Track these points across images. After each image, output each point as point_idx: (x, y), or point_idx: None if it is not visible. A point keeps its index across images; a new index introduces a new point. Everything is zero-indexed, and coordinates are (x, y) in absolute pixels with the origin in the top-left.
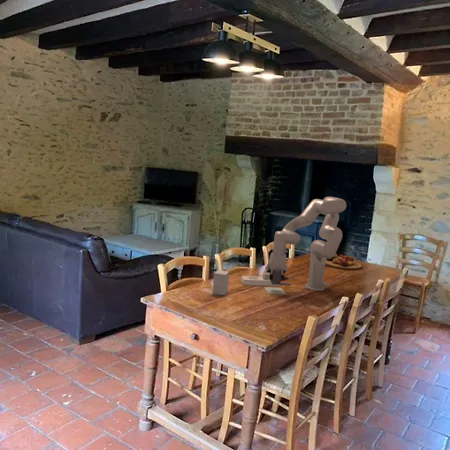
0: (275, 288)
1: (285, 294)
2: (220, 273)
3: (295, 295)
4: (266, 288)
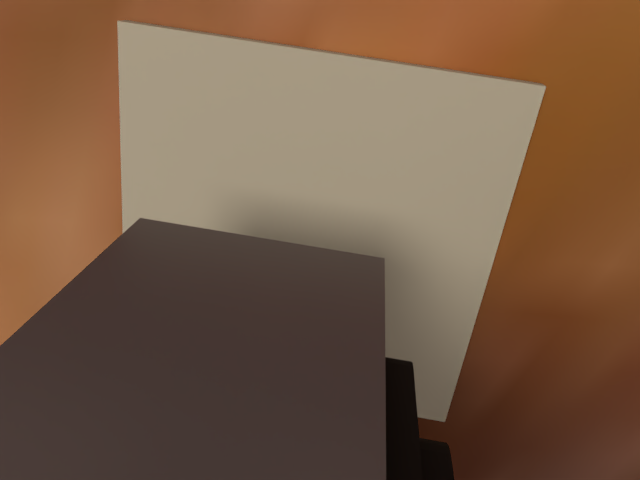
0: (371, 124)
1: (435, 411)
2: None
3: (604, 462)
4: (151, 115)
